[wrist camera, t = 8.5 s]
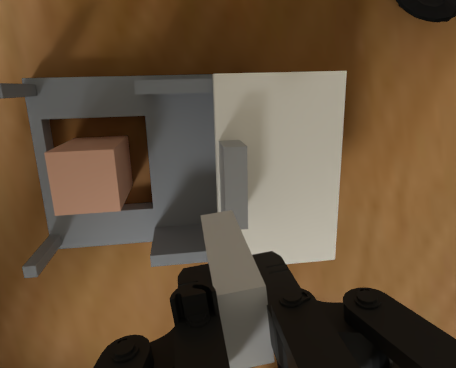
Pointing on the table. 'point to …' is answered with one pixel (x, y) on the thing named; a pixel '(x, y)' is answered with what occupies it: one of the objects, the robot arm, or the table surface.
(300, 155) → the cover
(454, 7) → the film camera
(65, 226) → the sliding door cubby
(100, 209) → the block
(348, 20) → the table surface
